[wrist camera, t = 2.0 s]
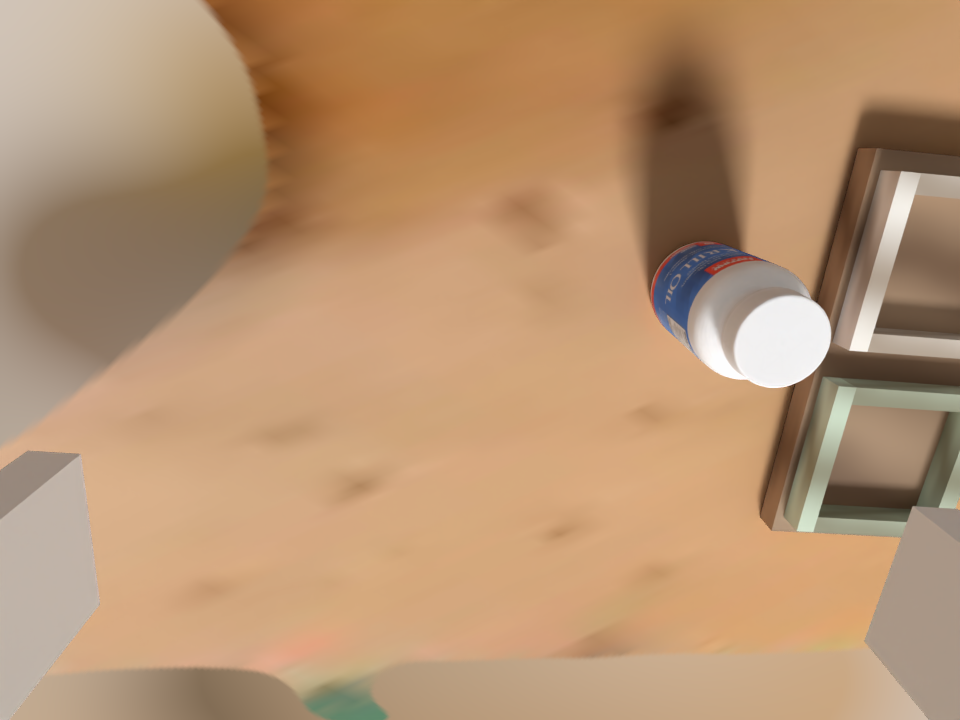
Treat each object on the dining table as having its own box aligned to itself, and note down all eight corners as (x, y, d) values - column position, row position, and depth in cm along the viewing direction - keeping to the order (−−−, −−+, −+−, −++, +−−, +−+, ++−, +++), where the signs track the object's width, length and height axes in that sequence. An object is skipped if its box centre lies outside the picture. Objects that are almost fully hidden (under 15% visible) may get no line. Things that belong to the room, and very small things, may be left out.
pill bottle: (707, 218, 33) (806, 244, 24) (763, 290, 34) (878, 342, 25) (626, 287, 34) (692, 339, 25) (684, 355, 35) (767, 428, 26)
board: (858, 148, 32) (897, 148, 29) (1038, 166, 33) (1094, 167, 30) (759, 516, 39) (784, 545, 36) (910, 525, 40) (946, 554, 37)
